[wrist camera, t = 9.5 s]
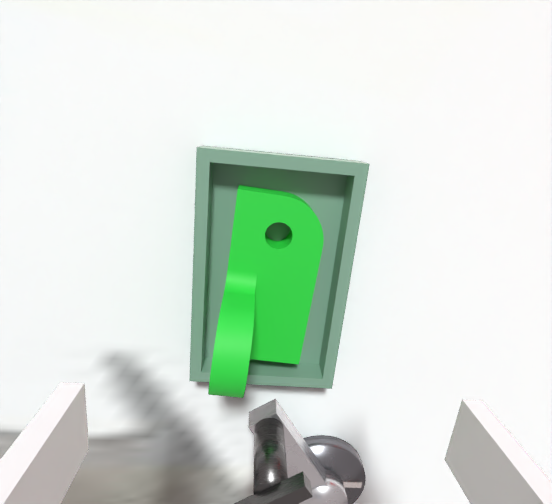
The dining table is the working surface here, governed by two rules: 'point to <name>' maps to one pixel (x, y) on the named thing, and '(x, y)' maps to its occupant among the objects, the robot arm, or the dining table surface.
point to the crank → (287, 464)
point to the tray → (218, 232)
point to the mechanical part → (265, 287)
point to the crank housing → (340, 462)
